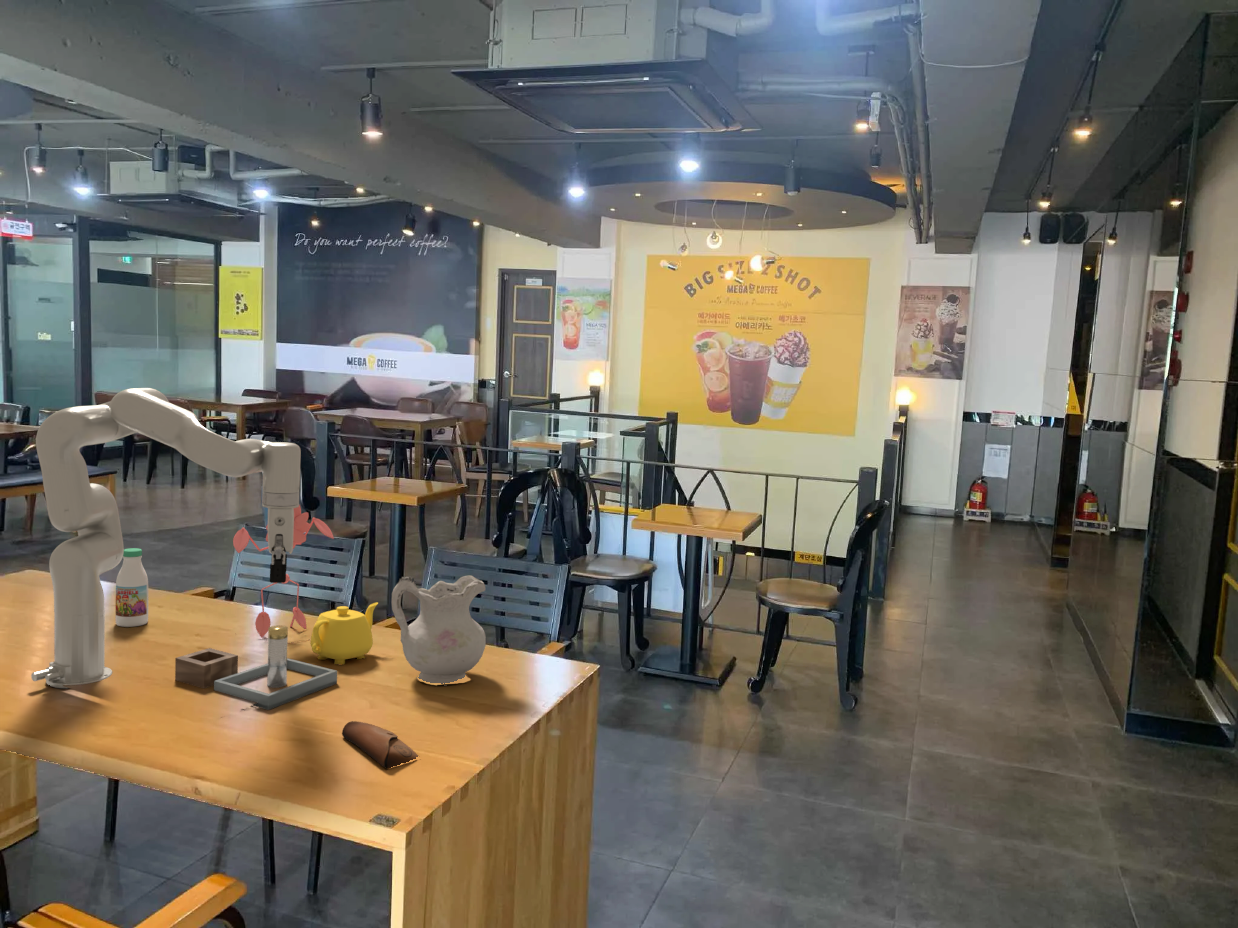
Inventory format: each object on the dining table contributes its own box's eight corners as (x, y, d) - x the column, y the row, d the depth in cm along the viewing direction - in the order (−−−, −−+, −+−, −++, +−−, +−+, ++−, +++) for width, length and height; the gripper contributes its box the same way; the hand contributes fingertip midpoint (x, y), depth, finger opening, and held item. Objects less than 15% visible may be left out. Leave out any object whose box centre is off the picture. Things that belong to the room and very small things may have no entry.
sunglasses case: (425, 759, 175) (410, 733, 173) (395, 785, 172) (379, 760, 169) (380, 728, 189) (365, 704, 186) (351, 752, 185) (336, 727, 182)
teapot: (294, 659, 228) (295, 608, 227) (358, 642, 244) (360, 594, 243) (331, 672, 220) (333, 619, 219) (395, 653, 237) (397, 604, 236)
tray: (268, 709, 195) (268, 695, 195) (213, 694, 202) (214, 680, 202) (336, 683, 213) (337, 670, 213) (284, 669, 220) (285, 657, 219)
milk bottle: (118, 619, 252) (119, 546, 250) (150, 619, 254) (151, 546, 252) (112, 627, 244) (112, 552, 242) (145, 627, 247) (145, 552, 245)
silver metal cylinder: (276, 689, 205) (277, 631, 203) (263, 685, 206) (264, 628, 205) (290, 684, 208) (291, 627, 207) (277, 680, 210) (278, 624, 209)
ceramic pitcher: (406, 702, 207) (414, 594, 203) (377, 669, 223) (383, 568, 219) (495, 688, 219) (504, 586, 215) (461, 658, 235) (469, 562, 231)
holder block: (203, 692, 203) (204, 665, 202) (175, 684, 206) (175, 657, 206) (237, 681, 211) (237, 655, 210) (209, 673, 215) (209, 647, 214)
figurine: (224, 636, 242) (228, 502, 238) (317, 621, 261) (322, 497, 257) (250, 652, 232) (255, 513, 228) (345, 635, 250) (351, 506, 246)
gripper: (299, 506, 196) (296, 586, 198) (299, 494, 212) (296, 568, 214) (260, 505, 194) (258, 586, 195) (263, 493, 210) (261, 568, 212)
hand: (278, 577), depth 205 cm, fingers open, 9 cm apart
